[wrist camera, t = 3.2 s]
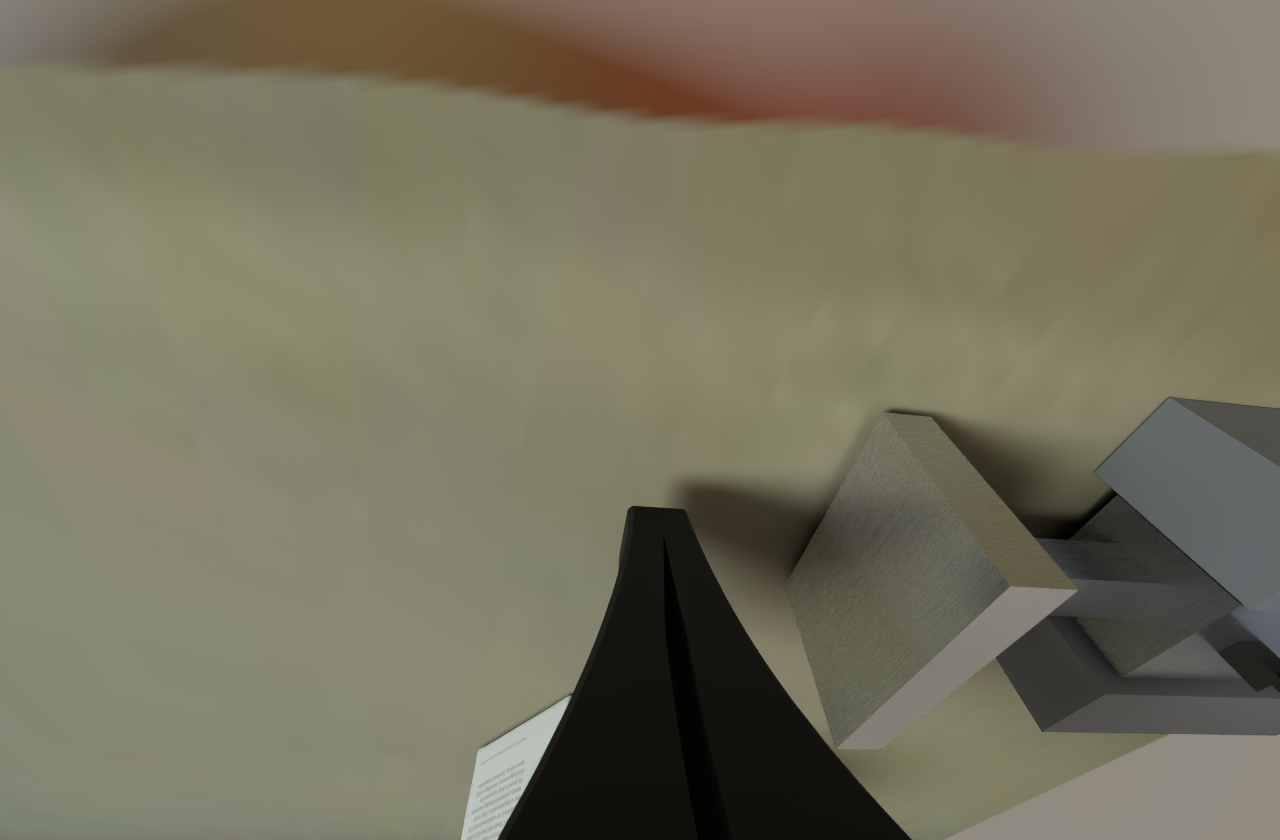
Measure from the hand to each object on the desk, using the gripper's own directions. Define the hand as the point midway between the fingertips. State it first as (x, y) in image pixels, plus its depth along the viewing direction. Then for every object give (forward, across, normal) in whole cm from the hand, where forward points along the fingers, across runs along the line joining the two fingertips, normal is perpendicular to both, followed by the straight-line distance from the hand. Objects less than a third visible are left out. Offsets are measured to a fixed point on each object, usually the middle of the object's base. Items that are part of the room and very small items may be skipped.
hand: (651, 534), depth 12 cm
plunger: (+1, -10, 0) cm, 10 cm away
